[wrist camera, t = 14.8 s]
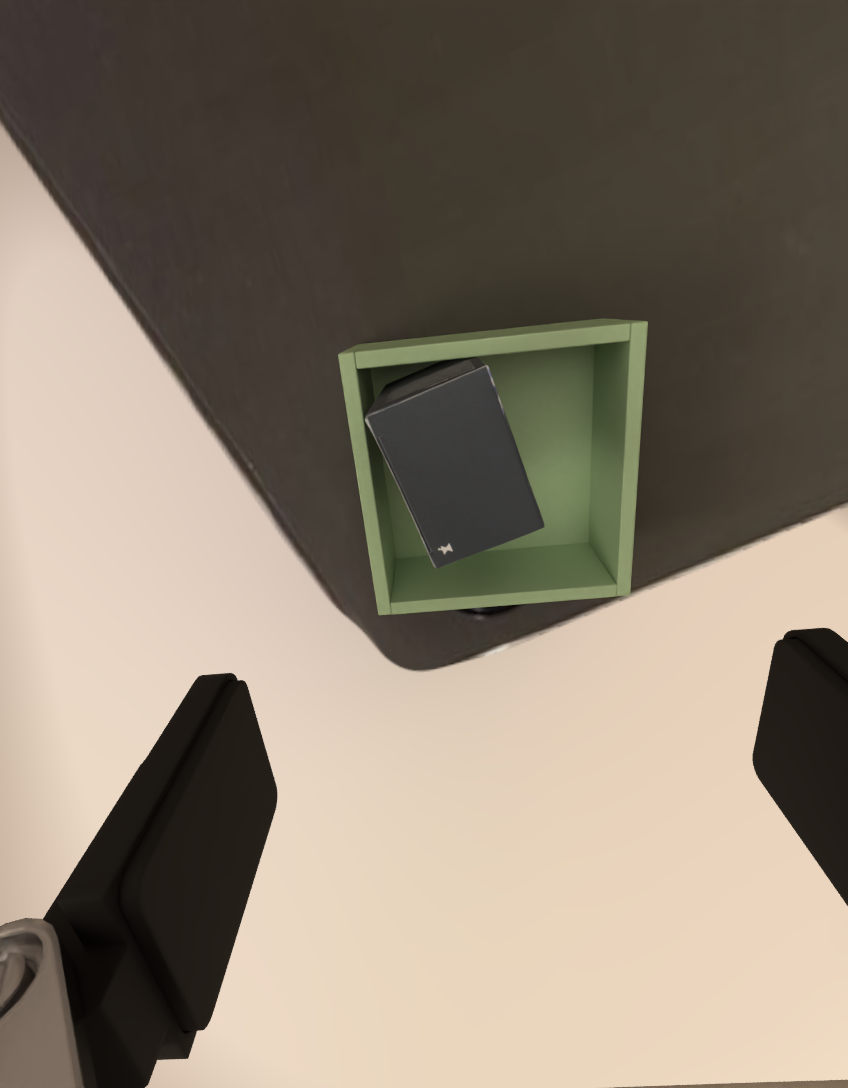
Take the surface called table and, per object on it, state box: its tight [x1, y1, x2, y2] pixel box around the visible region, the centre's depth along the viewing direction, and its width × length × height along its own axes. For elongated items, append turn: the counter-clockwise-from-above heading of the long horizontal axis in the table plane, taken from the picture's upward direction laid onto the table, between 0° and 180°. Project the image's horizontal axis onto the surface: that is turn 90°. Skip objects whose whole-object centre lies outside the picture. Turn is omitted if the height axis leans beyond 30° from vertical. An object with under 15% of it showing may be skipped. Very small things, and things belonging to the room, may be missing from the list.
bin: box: [338, 318, 648, 615], centre depth 31 cm, size 15×15×7 cm
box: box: [365, 357, 545, 568], centre depth 28 cm, size 8×6×11 cm
